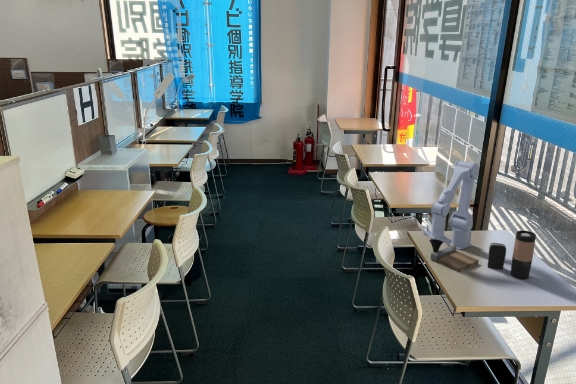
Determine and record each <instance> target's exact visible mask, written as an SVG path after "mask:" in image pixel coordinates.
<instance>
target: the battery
mask: <svg viewBox="0 0 576 384" xmlns="http://www.w3.org/2000/svg"><path fill="white" fill-rule="evenodd" d="M506 255H507V247H506V245H505V244H503V243H499V242H498V243H497V242H492V243H490V244H489V247H488V257H487V266H486V267H488V268H493V269H499V270H500V269H501V270H503V269H504V266H505V265H504V264H505V260H506Z"/></svg>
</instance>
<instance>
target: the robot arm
mask: <svg viewBox="0 0 576 384" xmlns="http://www.w3.org/2000/svg"><path fill="white" fill-rule="evenodd" d="M479 172H480V166H479V164H478V163H476V162H470V161H465V160H461V159H458V160H456V161H455V163H454V166H453V175H452V177H451V180H450V182H449V184H448V186H447V188H444V189H443V190H442V192H441V193H440V195H439V197H438V198H437V200H436V201H435V202H433V204H432V205H431V208H430V213H431V217H432V222H431V231H429V230H424V231H423V236H427V237H429V238H430V239H429V242H430V244H431V245H430V246H432V247H431V248H432V251H433V252H432V253H434V252H437V251H439V250H440V248H441V247H442V246H443V243H445V244H446V245H448V246H450V247H451V245H455V246H456V250H459V251H461V250H464V249H467V248H468V247H469V248H470V247H471V246H472V244H471V241H472V231H471V230H472V228H473V222H474V221H473V219H474V216H473V214H471V212H470V211H469V210H470V209H469V208H470V205H471V200H472V195H473V189H474V185H475V180H477V179H478V178H479V177H478V176H479ZM461 183H462V185H461V190H460V196H459V201H458V205H457V210H455V211H453V212H452V213H451V216H450V218H449V222H448V223H449V226H450V227H451V229H452V231H451V232H452V233H451V239H449V238H448V237H446V235H445V228H446V219H447V218H446V217H447V215H449V212H450V208H451V203H452V202H453V200H454V198H455V197H456V194H455V191H456V190H457V188H458V187H459V185H460V184H461Z"/></svg>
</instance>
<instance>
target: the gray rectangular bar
mask: <svg viewBox="0 0 576 384" xmlns="http://www.w3.org/2000/svg"><path fill="white" fill-rule="evenodd" d="M453 252H454V249H453V248H451V246H450V247H449V246H448V247H446V248H442V249H439V250H438V251H437V252H434V253H433V252H432V253H430V260H431V261H433V262H437V259H438V258H440V257H443V256H445V255H448V254H450V253H453Z"/></svg>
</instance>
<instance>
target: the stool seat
mask: <svg viewBox="0 0 576 384" xmlns="http://www.w3.org/2000/svg"><path fill="white" fill-rule="evenodd" d="M450 248H453V249H454V252H453V253H450V254H448V255H445V256H443V257H440V258H438V259H437V261H436V262H437V263H438V264H439V265H441V266H444V267H446V268H449V269H451V270H453V271H456V272H457V273H461V272H463V271H466V270H468V269H470V268H473V267H475V266H477V265H478V264H479V259H477V258H474V257H471V256H470V255H467V254H465V253H463V252H460V251H458V250H457V248H456V246H455V245H451V246H450ZM437 263H436V264H437Z"/></svg>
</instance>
